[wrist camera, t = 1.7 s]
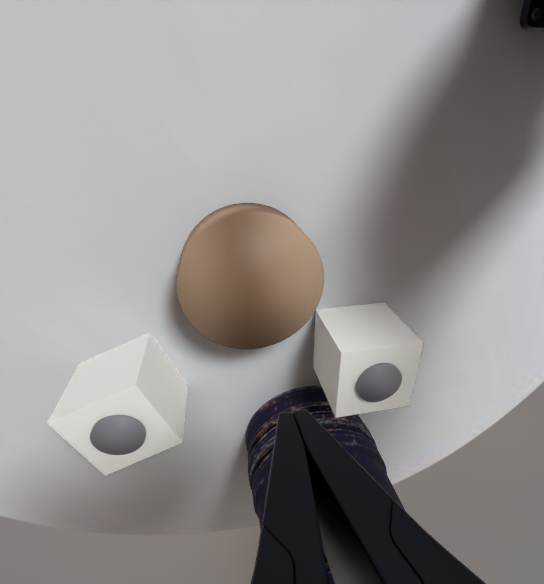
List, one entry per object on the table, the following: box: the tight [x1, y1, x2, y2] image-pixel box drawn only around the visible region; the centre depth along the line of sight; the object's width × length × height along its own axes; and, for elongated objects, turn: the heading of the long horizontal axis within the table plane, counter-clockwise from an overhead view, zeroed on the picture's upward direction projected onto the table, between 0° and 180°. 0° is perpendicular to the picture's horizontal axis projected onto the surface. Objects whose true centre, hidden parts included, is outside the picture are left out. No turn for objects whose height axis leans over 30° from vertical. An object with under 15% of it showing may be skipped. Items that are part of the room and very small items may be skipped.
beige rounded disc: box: [177, 203, 324, 349], centre depth 19 cm, size 8×8×3 cm
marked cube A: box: [313, 302, 424, 418], centre depth 22 cm, size 5×5×5 cm
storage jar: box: [246, 386, 405, 584], centre depth 21 cm, size 10×10×15 cm
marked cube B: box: [47, 333, 188, 476], centre depth 20 cm, size 5×5×5 cm
